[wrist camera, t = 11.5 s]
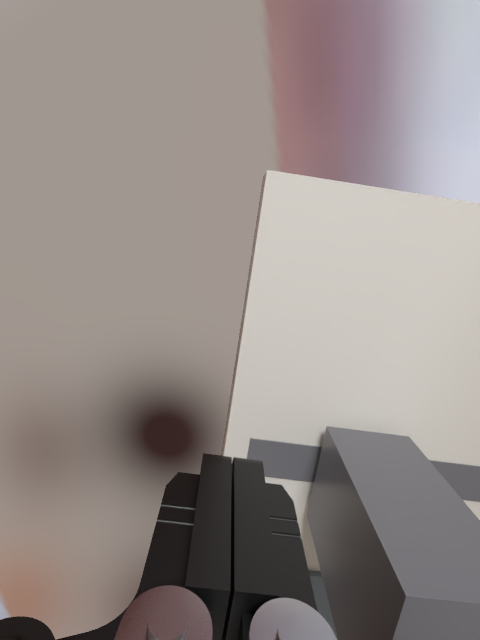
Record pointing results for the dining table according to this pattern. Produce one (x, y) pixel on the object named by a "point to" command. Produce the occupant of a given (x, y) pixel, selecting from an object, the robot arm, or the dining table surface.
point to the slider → (393, 541)
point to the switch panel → (357, 334)
